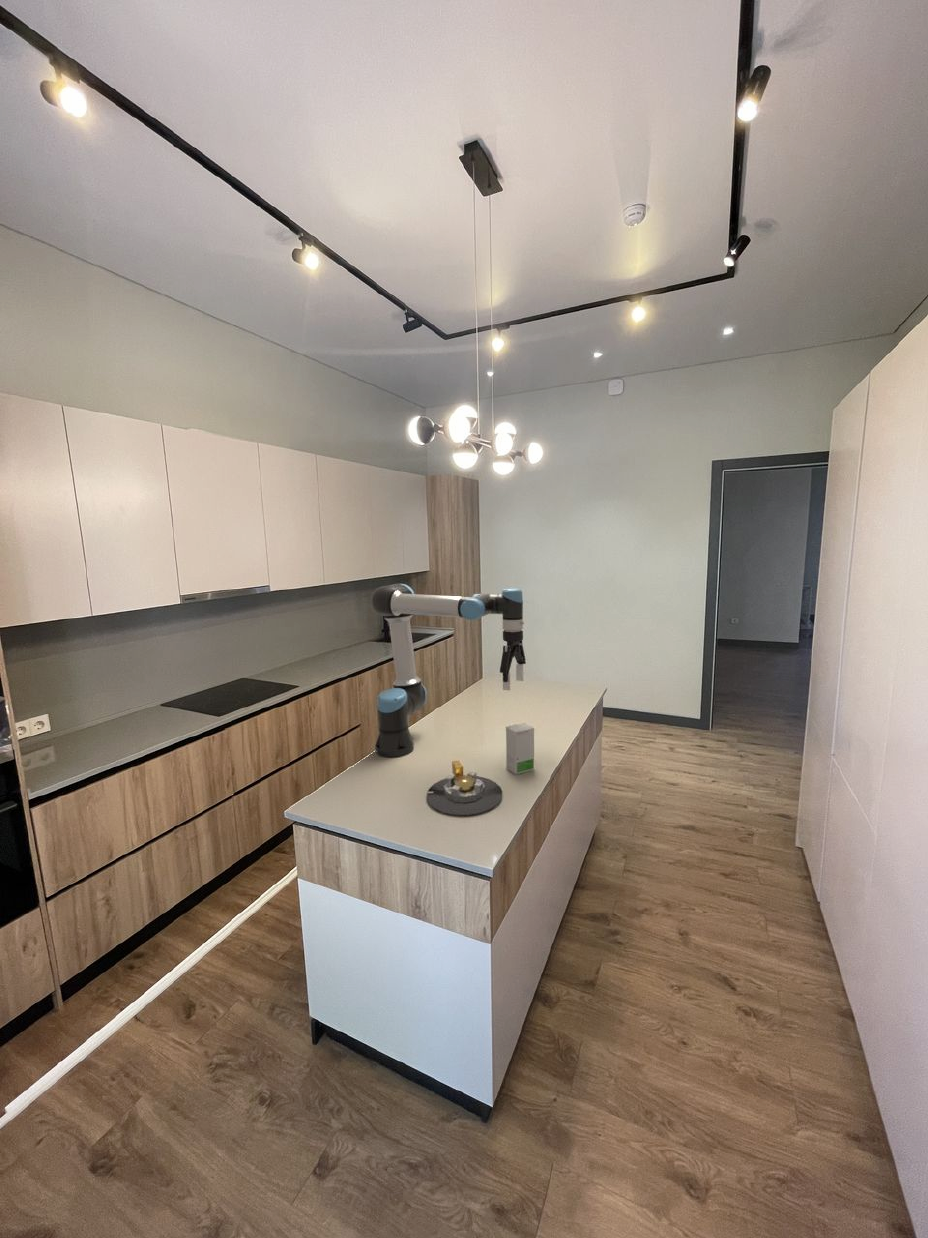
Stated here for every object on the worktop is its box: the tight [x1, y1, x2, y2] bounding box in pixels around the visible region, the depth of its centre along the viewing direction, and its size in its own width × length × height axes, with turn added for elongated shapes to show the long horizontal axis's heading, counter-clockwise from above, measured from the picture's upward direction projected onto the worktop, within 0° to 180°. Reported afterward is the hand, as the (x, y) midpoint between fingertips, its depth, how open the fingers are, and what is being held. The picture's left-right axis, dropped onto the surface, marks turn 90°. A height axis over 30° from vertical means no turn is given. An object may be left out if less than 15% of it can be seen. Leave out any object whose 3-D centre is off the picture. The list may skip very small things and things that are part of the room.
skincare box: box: [505, 722, 535, 775], centre depth 170 cm, size 8×7×16 cm
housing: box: [426, 774, 503, 818], centre depth 153 cm, size 24×24×6 cm
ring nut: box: [444, 760, 485, 803], centre depth 155 cm, size 17×13×6 cm
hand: (513, 685), depth 182 cm, fingers open, 13 cm apart
